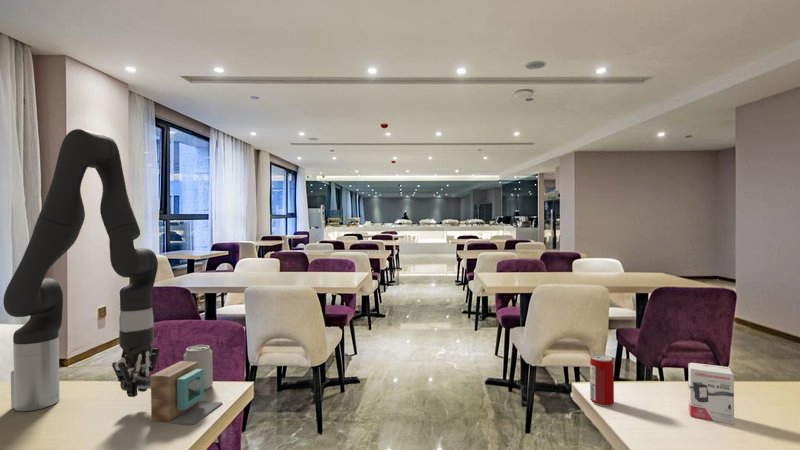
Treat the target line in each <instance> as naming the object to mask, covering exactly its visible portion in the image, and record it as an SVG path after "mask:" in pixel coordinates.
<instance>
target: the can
mask: <svg viewBox="0 0 800 450" xmlns="http://www.w3.org/2000/svg"><path fill="white" fill-rule="evenodd" d="M210 347H211V346H210V345H207V344H197V345H191V346H189V347H187V348H186V349H185V351H186V352H185V353H183V361H190V362H198V369H203V392H204V391H207V390H209V389H210V388H211V387H212V385H213V383H214V382H213V381H214V379H213V373H214V372H213V350H212V349H210Z"/></svg>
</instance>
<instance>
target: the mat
mask: <svg viewBox="0 0 800 450" xmlns="http://www.w3.org/2000/svg"><path fill="white" fill-rule="evenodd" d="M222 405H223V402H221V401H218V402H217V401H205V400H203V401H202V400H201V401H200V402H199V403H198V404H197V405H195V406H194V407H192V408H191V409H189V410H188V411H186V412H185V413H183V414H182V415H180V416H179V417H177V418H176V419H174V420H173V421H171V422H170V424H173V425H174V424H175V425H187V426H194V425H196V424H197V423H198V422H200V421H201V420H202V419H204V418H205V417H208V415H209V414H211V413H212V412H213V411H215V410H217V409H218V408H219V407H221V406H222Z"/></svg>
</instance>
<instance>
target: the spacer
mask: <svg viewBox="0 0 800 450" xmlns="http://www.w3.org/2000/svg"><path fill="white" fill-rule="evenodd" d="M194 379H199V380H201V388H200V389H199V391H193V394H192V395H190V396H189V397H188V383H189V382H191V381H193V380H194ZM203 398H204V391H203V369H195V370H193V371H191V372H189V373H187V374H185V375H183V376H182V377H180V378H178V379H177V409H180V410H185V409H187V408H188V407H190V406H191V405H193V404H194V403H196V402H198V401H200V400H201V401H202V399H203Z"/></svg>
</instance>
